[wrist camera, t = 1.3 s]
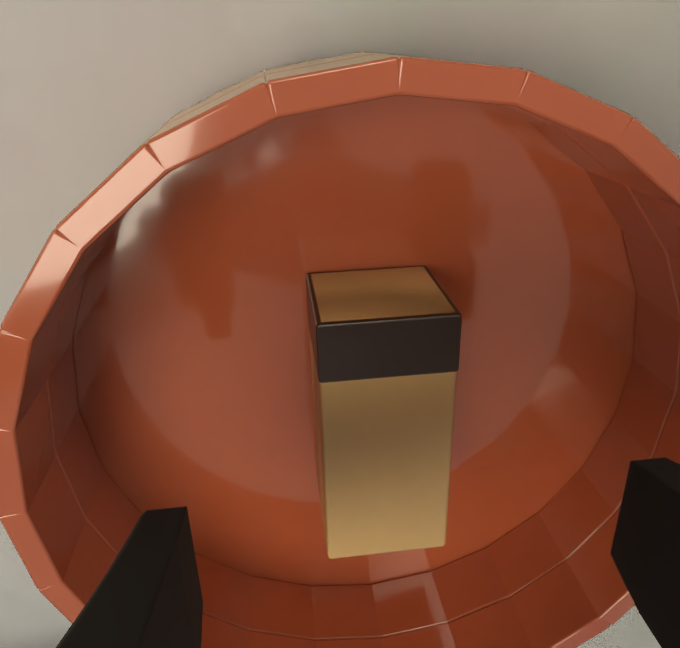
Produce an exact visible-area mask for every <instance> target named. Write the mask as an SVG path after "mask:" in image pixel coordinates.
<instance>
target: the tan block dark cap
mask: <svg viewBox="0 0 680 648" xmlns="http://www.w3.org/2000/svg"><path fill="white" fill-rule="evenodd" d="M306 292H307V311H308V324H309V330H310V348H311V367H312V386H313V405H314V424H315V443H316V462H317V481H318V489H319V496H320V504H321V511H322V519H323V527H324V534H325V542H326V549H327V555H328V557H329V558H330V559H336V558H345V557H354V556H363V555H372V554H381V553H390V552H398V551H407V550H416V549H425V548H434V547H442V546H445V543H446V529H447V513H448V498H449V482H450V467H451V452H452V436H453V421H454V405H455V390H456V374H457V371H458V369H459V356H460V341H461V326H462V314H461V313H460V311H459V310H458V309H457V307H456V306H455V304H454V303H453V302H452V300H451V299H450V298H449V296H448V295H447V293H446V292H445V291H444V289H443V288H442V287H441V285H440V284H439V283H438V281H437V280H436V278H435V277H434V276H433V274H432V273H431V272H430V270H429V269H428V267H427V266H411V267H396V268H381V269H366V270H351V271H336V272H321V273H308V274H306Z"/></svg>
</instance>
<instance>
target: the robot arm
mask: <svg viewBox="0 0 680 648" xmlns="http://www.w3.org/2000/svg"><path fill="white" fill-rule="evenodd" d="M610 554H611V556H612V558H613V560H614V562H615V565H616V567H617V569H618V571H619V573H620V575H621V577H622V579H623V581H624V584H625V586H626V588H627V590H628V591H629V593H630V595H631V597H632V599H633V601H634V603H635V605H636V607H637V609H638V611H639V613H640V614H641V616H642V618H643V619H644V621H645V622H646V624H647V626H648V627H649V629H650V630H651V632H652V633H653V635H654V636H655V638H656V639H657V641H658V643H659V644H660V646H661V647H662V648H680V464H678V463H676V462H674V461H672V460H670V459H668V458H666V457H662V458H653V459H643V460H633V461H630V466H629V470H628V475H627V479H626V484H625V488H624V493H623V497H622V502H621V506H620V511H619V516H618V520H617V525H616V529H615V534H614V538H613V543H612V547H611V552H610ZM202 617H203V598H202V592H201V586H200V580H199V574H198V568H197V563H196V557H195V551H194V545H193V539H192V534H191V528H190V522H189V516H188V510H187V506H184V507H174V508H165V509H155V510H146V511H145V512H144V513H143V514H142V515H141V516H140V518H139V520H138V521H137V523H136V525H135V527H134V528H133V530H132V532H131V533H130V535H129V537H128V538H127V540H126V542H125V543H124V545H123V547H122V548H121V550H120V552H119V553H118V555H117V557H116V558H115V560H114V561H113V563H112V565H111V566H110V568H109V569H108V571H107V573H106V574H105V576H104V577H103V579H102V580H101V582H100V584H99V585H98V587H97V588H96V590H95V591H94V593H93V594H92V596H91V597H90V599H89V600H88V602H87V603H86V605H85V606H84V607H83V609H82V610H81V612H80V613H79V615H78V616H77V618H76V619H75V621H74V622H73V624H72V625H71V627H70V628H69V630H68V631H67V633H66V634H65V635H64V637H63V638H62V640H61V641H60V643H59V644H58V645H57V647H56V648H201V640H202Z"/></svg>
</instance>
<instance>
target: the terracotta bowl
mask: <svg viewBox="0 0 680 648" xmlns="http://www.w3.org/2000/svg"><path fill="white" fill-rule="evenodd" d="M411 266H427V267H428V269H429V270H430V272H431V273H432V274H433V276H434V277H435V278H436V280H437V281H438V283H439V284H440V285H441V287H442V288H443V289H444V291H445V292H446V293H447V295H448V296H449V298H450V299H451V300H452V302H453V303H454V304H455V306H456V307H457V309H458V310H459V311H460V313H461V314H462V326H461V341H460V356H459V369H458V371H457V374H456V390H455V405H454V421H453V436H452V452H451V467H450V482H449V498H448V513H447V529H446V543H445V546H442V547H434V548H425V549H416V550H407V551H398V552H390V553H381V554H372V555H363V556H354V557H345V558H336V559H330V558H329V557H328V555H327V549H326V542H325V534H324V527H323V519H322V511H321V504H320V496H319V489H318V481H317V462H316V443H315V424H314V405H313V386H312V367H311V348H310V330H309V324H308V311H307V292H306V274H308V273H321V272H336V271H351V270H366V269H381V268H396V267H411ZM662 457H666V458H668V459H670V460H672V461H674V462H676V463H678V464H680V158H678V157H677V156H676V155H675V154H674V153H673V152H672V151H671V150H670V149H669V148H668V147H667V146H665V145H664V144H663V143H662V142H661V141H660V140H659V139H658V138H657V137H656V136H655V135H654V134H652V133H651V132H650V131H649V130H648V129H647V128H646V127H645V126H644V125H643V124H642V123H641V122H639V121H638V120H637V119H636V118H633V117H632V116H631V115H630V114H628V113H626V112H624V111H621V110H619V109H617V108H615V107H612V106H610V105H608V104H605V103H603V102H601V101H599V100H596V99H594V98H592V97H589V96H587V95H585V94H583V93H580V92H578V91H576V90H573V89H571V88H569V87H567V86H564V85H562V84H560V83H557V82H555V81H553V80H551V79H548V78H546V77H544V76H541V75H539V74H537V73H535V72H532V71H529V70H524V69H522V68H513V67H504V66H495V65H486V64H477V63H468V62H459V61H449V60H440V59H430V58H420V57H411V56H401V55H392V54H382V53H373V52H363V53H362V52H356V53H351V54H346V55H340V56H335V57H330V58H321V59H312V60H307V61H304V62H300V63H296V64H292V65H287V66H282V67H276V68H271V69H267V70H265V72H264V71H260V72H258V73H256V74H254V75H252V76H250V77H249V78H247V79H245V80H243V81H241V82H239V83H237V84H234V85H232V86H229V87H227V88H225V89H222V90H220V91H219V92H217V93H215V94H214V95H212V96H210V97H209V98H207V99H205V100H203V101H201V102H199V103H197V104H195V105H193V106H191V107H189V108H188V109H186V110H184V111H182V112H180V113H178V114H176V115H175V116H174V117H172V118H171V119H170V120H169V121H168V122H167V123H165V124H164V125H163V126H162V127H161V128H160V129H159V130H158V131H156V132H155V133H154V134H153V135H152V136H151V137H150V138H149V139H148V140H146V141H145V142H144V143H143V144H142V145H141V146H140V147H139V148H138V149H137V150H136V151H135V152H134V153H133V154H131V155H130V156H129V157H128V158H127V159H126V160H125V161H124V162H123V163H122V164H121V165H120V166H119V167H118V168H117V169H116V170H115V171H114V172H113V173H111V174H110V175H109V176H108V177H107V178H106V179H105V180H104V181H103V182H102V183H101V184H100V185H99V186H98V187H97V188H96V189H95V190H94V191H92V192H91V193H90V194H89V195H88V196H87V197H86V198H85V199H84V200H83V201H82V202H81V203H80V204H79V205H78V206H77V207H76V208H75V209H74V210H72V211H71V212H70V213H69V214H68V215H67V216H66V217H65V218H64V219H63V220H62V221H61V222H60V223H59V224H58V225H57V226H56V228H55V229H54V230H53V231H52V232H51V234H50V236H49V238H48V239H47V241H46V243H45V245H44V247H43V249H42V250H41V252H40V254H39V256H38V258H37V260H36V261H35V263H34V265H33V267H32V269H31V271H30V272H29V274H28V276H27V278H26V280H25V281H24V283H23V285H22V287H21V289H20V291H19V292H18V294H17V296H16V298H15V300H14V302H13V303H12V305H11V307H10V309H9V311H8V313H7V314H6V316H5V318H4V320H3V322H2V324H1V329H0V521H1V523H2V524H3V526H4V528H5V530H6V532H7V534H8V535H9V537H10V539H11V541H12V543H13V545H14V546H15V548H16V550H17V552H18V554H19V556H20V557H21V559H22V561H23V563H24V565H25V567H26V568H27V570H28V572H29V574H30V576H31V578H32V579H33V581H34V583H35V585H36V587H37V588H38V589H39V591H40V592H41V593H42V594H43V595H44V596H45V597H46V598H47V599H48V600H49V601H50V602H51V603H52V604H53V605H54V606H55V607H56V608H57V609H58V610H59V611H60V612H61V613H62V614H63V615H64V616H65V617H66V618H67V619H68V620H69V621H70V622H71V623H72V624H73V622H74V621H75V619H76V618H77V616H78V615H79V613H80V612H81V610H82V609H83V607H84V606H85V605H86V603H87V602H88V600H89V599H90V597H91V596H92V594H93V593H94V591H95V590H96V588H97V587H98V585H99V584H100V582H101V580H102V579H103V577H104V576H105V574H106V573H107V571H108V569H109V568H110V566H111V565H112V563H113V561H114V560H115V558H116V557H117V555H118V553H119V552H120V550H121V548H122V547H123V545H124V543H125V542H126V540H127V538H128V537H129V535H130V533H131V532H132V530H133V528H134V527H135V525H136V523H137V521H138V520H139V518H140V516H141V515H142V514H143V513H144V512H145V511H146V510H155V509H165V508H174V507H184V506H187V510H188V516H189V522H190V528H191V534H192V539H193V545H194V551H195V557H196V563H197V568H198V574H199V580H200V586H201V592H202V598H203V617H202V640H201V648H577V647H578V646H580V645H581V644H583V643H585V642H586V641H588V640H589V639H591V638H593V637H594V636H596V635H598V634H599V633H601V632H602V631H604V630H606V629H607V628H609V627H610V625H613V624H614V623H615V622H616V621H618V620H619V619H620V618H621V617H622V616H623V615H624V614H625V613H627V612H628V611H629V610H630V609H631V608H632V607H633V606H634V605H635V603H634V601H633V599H632V597H631V595H630V593H629V591H628V590H627V588H626V586H625V584H624V581H623V579H622V577H621V575H620V573H619V571H618V569H617V567H616V565H615V562H614V560H613V558H612V556H611V554H610V552H611V547H612V543H613V538H614V534H615V529H616V525H617V520H618V516H619V511H620V506H621V502H622V497H623V493H624V488H625V484H626V479H627V475H628V470H629V466H630V461H633V460H643V459H653V458H662Z"/></svg>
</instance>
